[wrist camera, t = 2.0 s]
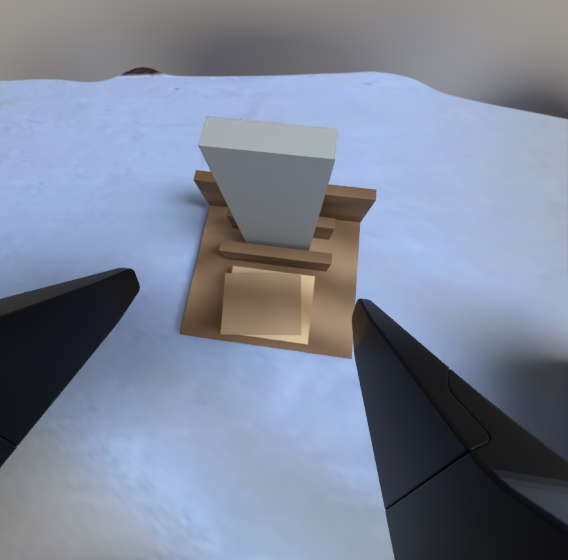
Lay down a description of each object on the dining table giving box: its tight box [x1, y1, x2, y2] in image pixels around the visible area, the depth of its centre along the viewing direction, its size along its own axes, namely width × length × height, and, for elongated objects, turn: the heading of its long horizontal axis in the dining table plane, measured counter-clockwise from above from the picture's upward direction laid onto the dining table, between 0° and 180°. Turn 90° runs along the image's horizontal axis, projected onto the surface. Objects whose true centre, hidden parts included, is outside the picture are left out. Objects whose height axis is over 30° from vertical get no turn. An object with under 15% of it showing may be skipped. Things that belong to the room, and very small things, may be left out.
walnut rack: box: [180, 170, 376, 359], centre depth 19 cm, size 14×16×5 cm
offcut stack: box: [220, 266, 315, 344], centre depth 19 cm, size 6×8×3 cm
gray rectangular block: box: [198, 116, 338, 251], centre depth 15 cm, size 2×6×12 cm, turn 82°
